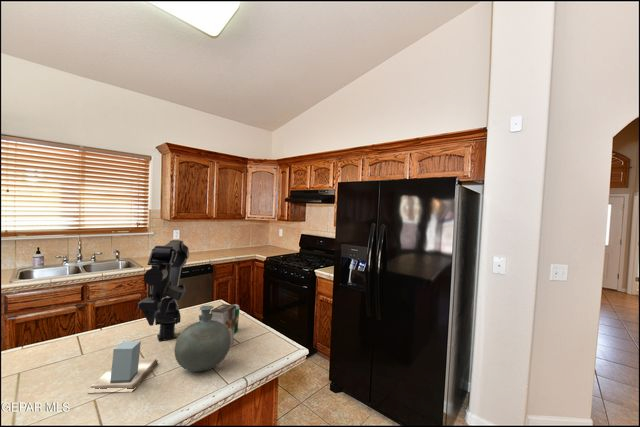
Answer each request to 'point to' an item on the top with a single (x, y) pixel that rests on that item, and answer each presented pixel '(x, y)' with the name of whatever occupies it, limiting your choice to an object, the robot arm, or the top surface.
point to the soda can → (236, 318)
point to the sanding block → (125, 362)
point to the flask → (202, 343)
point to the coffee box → (225, 317)
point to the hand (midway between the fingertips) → (157, 320)
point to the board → (143, 370)
